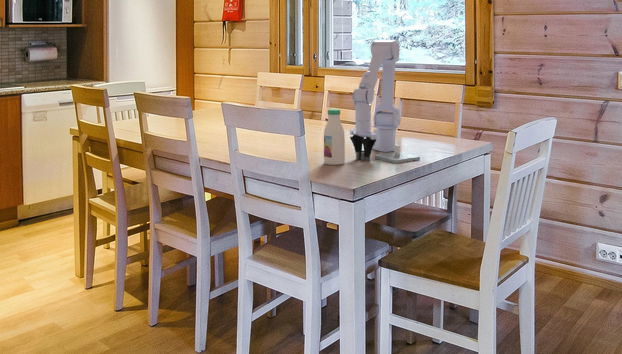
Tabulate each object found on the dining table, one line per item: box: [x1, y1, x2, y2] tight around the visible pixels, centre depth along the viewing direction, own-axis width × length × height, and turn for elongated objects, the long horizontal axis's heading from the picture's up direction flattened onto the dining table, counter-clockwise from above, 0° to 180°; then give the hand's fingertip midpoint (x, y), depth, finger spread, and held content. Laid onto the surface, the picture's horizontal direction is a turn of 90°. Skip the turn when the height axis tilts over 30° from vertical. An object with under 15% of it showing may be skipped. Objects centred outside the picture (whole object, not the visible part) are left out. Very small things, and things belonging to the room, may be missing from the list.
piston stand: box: [374, 144, 421, 164], centre depth 244 cm, size 12×12×5 cm
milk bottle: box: [323, 108, 346, 166], centre depth 237 cm, size 8×8×20 cm
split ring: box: [355, 149, 371, 162], centre depth 245 cm, size 5×5×3 cm
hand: (362, 155), depth 245 cm, fingers closed on split ring, 5 cm apart
